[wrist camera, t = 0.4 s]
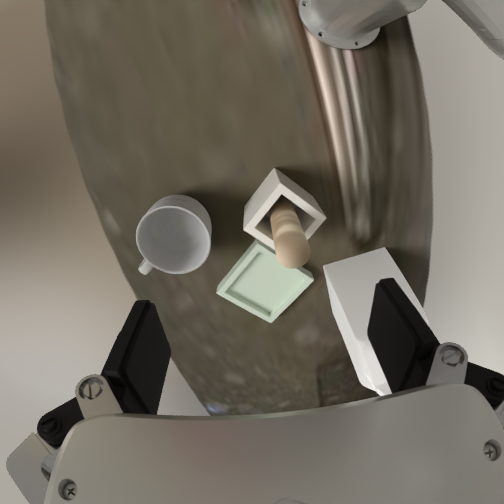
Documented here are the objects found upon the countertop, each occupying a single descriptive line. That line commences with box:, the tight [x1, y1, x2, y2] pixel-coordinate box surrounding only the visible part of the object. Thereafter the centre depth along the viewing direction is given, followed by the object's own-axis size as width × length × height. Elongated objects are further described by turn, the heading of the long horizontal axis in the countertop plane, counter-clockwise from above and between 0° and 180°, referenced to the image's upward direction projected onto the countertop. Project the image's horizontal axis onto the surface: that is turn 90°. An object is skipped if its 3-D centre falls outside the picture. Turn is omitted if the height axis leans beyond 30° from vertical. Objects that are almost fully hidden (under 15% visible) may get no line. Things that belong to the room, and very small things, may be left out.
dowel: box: [269, 194, 311, 269], centre depth 37 cm, size 4×4×16 cm
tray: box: [217, 238, 314, 323], centre depth 50 cm, size 12×12×2 cm
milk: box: [323, 247, 429, 396], centre depth 40 cm, size 12×12×26 cm
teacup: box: [136, 195, 212, 275], centre depth 43 cm, size 14×11×8 cm
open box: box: [243, 167, 326, 250], centre depth 40 cm, size 8×8×9 cm
